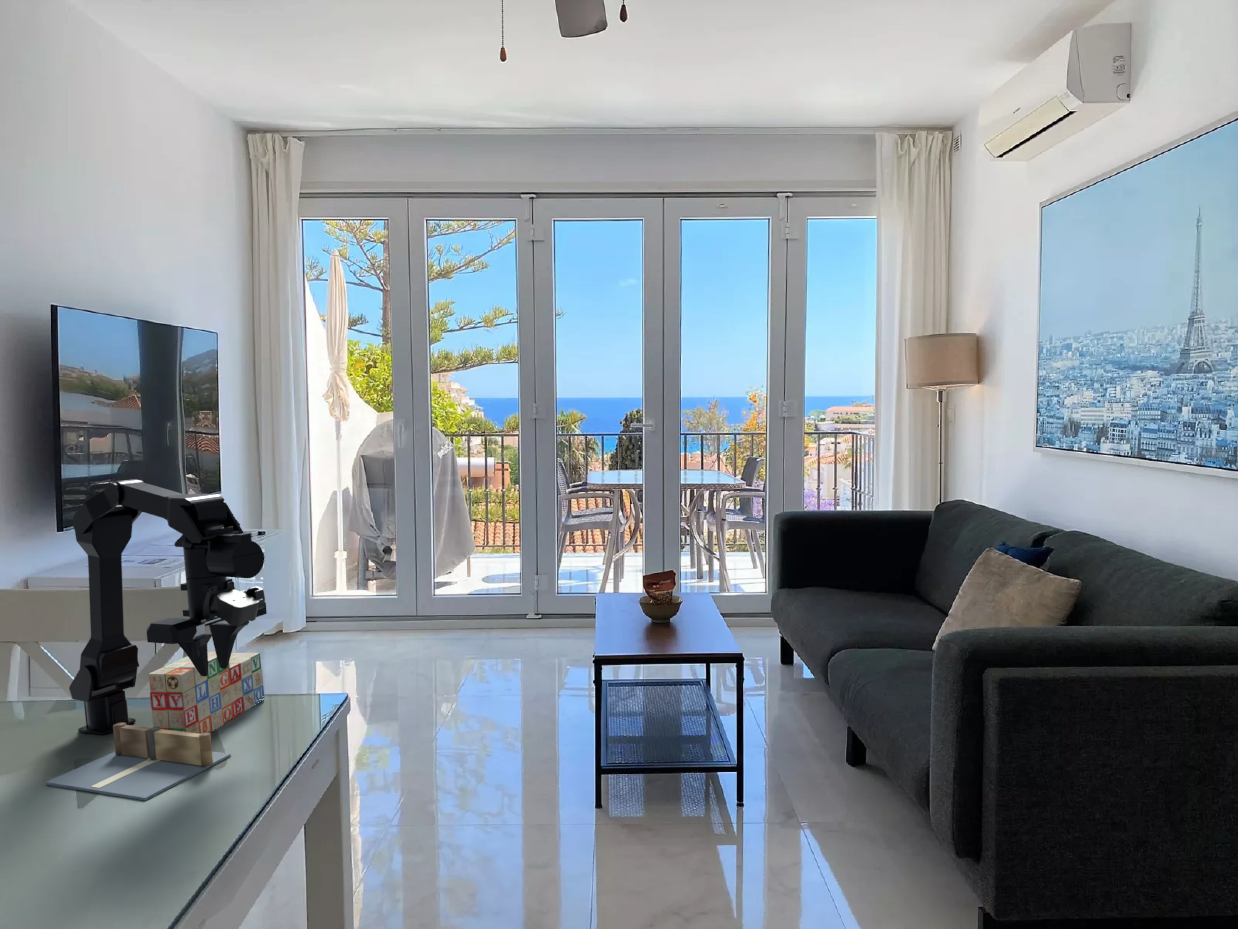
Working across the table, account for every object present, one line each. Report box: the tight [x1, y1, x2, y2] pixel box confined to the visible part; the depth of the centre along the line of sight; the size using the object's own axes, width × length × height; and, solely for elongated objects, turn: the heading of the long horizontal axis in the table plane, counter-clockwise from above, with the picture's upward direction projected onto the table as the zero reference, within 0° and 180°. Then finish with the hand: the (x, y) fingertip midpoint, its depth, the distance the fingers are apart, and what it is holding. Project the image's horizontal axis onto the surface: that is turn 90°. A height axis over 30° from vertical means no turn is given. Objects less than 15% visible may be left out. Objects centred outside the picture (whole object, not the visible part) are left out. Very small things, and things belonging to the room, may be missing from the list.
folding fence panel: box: [147, 726, 213, 767], centre depth 133 cm, size 12×2×5 cm, turn 69°
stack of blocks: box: [148, 651, 265, 734], centre depth 151 cm, size 21×6×12 cm, turn 169°
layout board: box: [45, 751, 232, 802], centre depth 132 cm, size 20×16×1 cm
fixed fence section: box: [112, 723, 150, 758], centre depth 136 cm, size 7×2×5 cm, turn 69°
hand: (214, 672), depth 136 cm, fingers open, 4 cm apart
